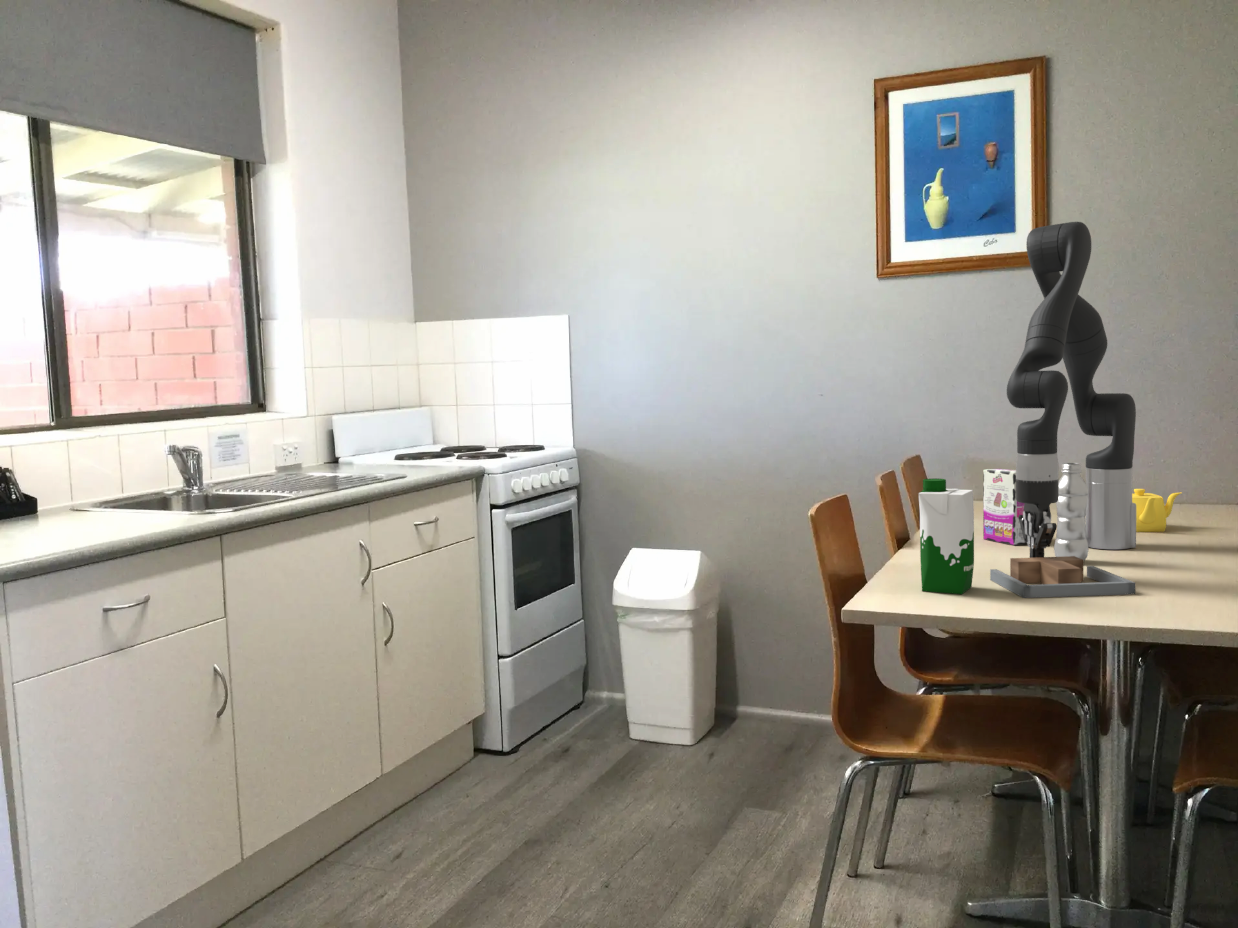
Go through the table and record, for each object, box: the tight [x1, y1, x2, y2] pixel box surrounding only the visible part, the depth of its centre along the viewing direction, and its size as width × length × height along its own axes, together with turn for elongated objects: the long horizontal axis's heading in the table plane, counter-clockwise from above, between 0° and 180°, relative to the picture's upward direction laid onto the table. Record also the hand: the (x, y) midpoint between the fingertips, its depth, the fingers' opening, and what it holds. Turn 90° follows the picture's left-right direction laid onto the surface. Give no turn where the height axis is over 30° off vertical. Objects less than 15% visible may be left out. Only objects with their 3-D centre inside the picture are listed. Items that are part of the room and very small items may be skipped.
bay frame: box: [989, 565, 1136, 599], centre depth 192 cm, size 19×16×2 cm
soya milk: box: [918, 478, 975, 595], centre depth 192 cm, size 9×9×20 cm
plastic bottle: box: [1053, 462, 1090, 562], centre depth 214 cm, size 6×7×20 cm
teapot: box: [1132, 488, 1183, 533], centre depth 253 cm, size 15×14×10 cm
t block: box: [1009, 556, 1084, 584], centre depth 194 cm, size 12×12×4 cm
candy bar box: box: [982, 468, 1028, 546], centre depth 241 cm, size 11×5×16 cm, turn 18°
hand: (1036, 567), depth 202 cm, fingers closed
